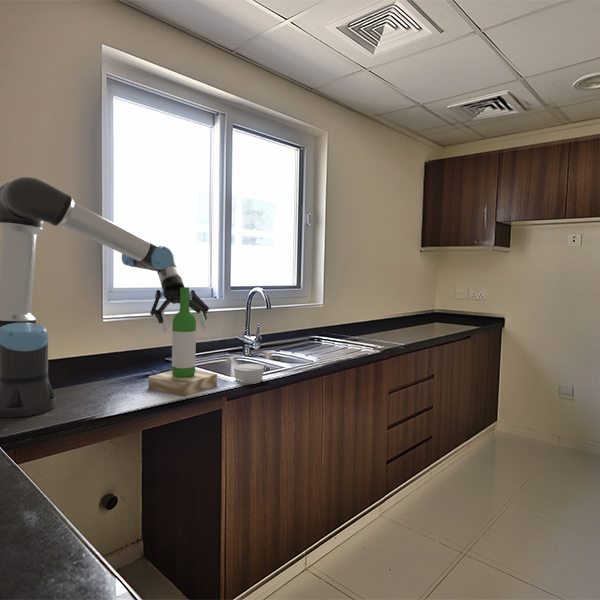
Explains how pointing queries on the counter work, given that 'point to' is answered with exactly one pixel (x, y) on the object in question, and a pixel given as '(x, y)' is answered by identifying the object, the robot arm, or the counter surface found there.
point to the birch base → (182, 382)
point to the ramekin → (249, 373)
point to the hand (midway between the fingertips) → (186, 329)
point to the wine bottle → (184, 338)
